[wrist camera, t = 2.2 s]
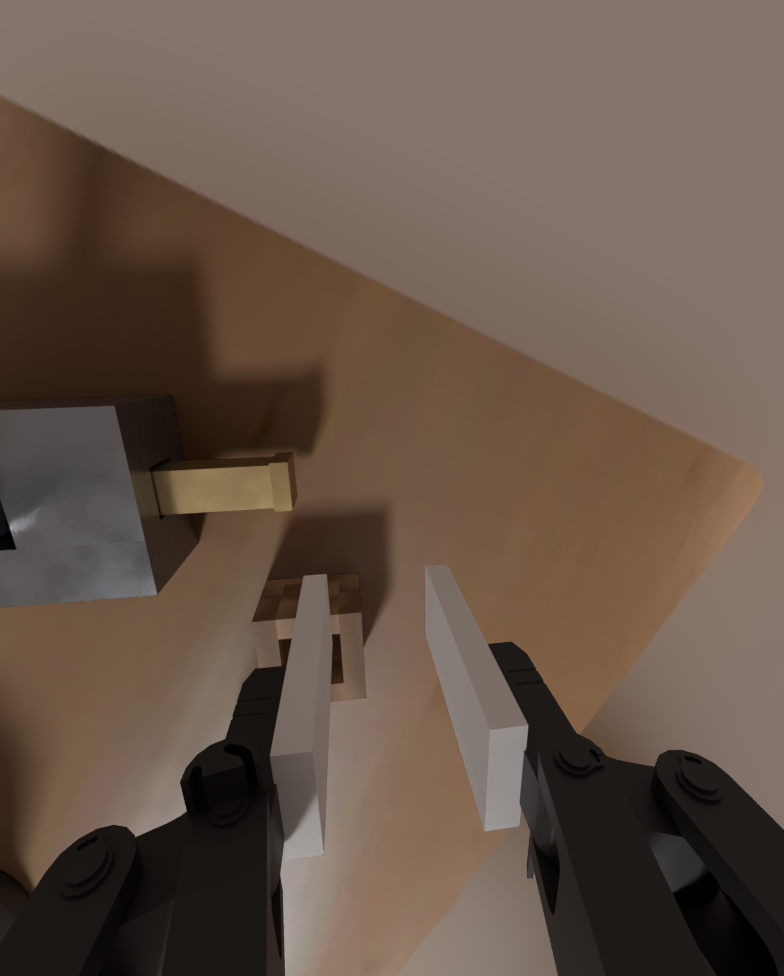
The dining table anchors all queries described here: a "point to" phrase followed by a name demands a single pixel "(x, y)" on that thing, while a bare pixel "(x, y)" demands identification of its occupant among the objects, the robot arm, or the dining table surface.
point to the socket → (87, 499)
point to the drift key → (225, 484)
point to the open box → (346, 625)
